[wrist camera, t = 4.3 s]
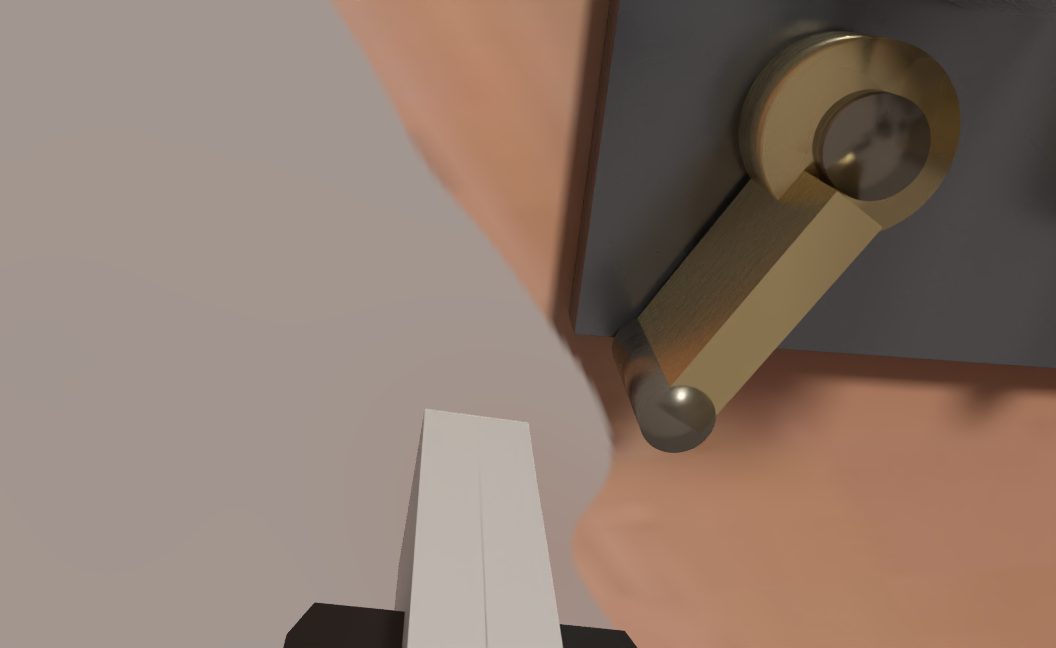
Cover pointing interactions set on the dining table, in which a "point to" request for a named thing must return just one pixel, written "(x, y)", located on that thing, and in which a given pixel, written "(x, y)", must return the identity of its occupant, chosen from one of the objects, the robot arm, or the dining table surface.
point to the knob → (789, 220)
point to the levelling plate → (893, 254)
